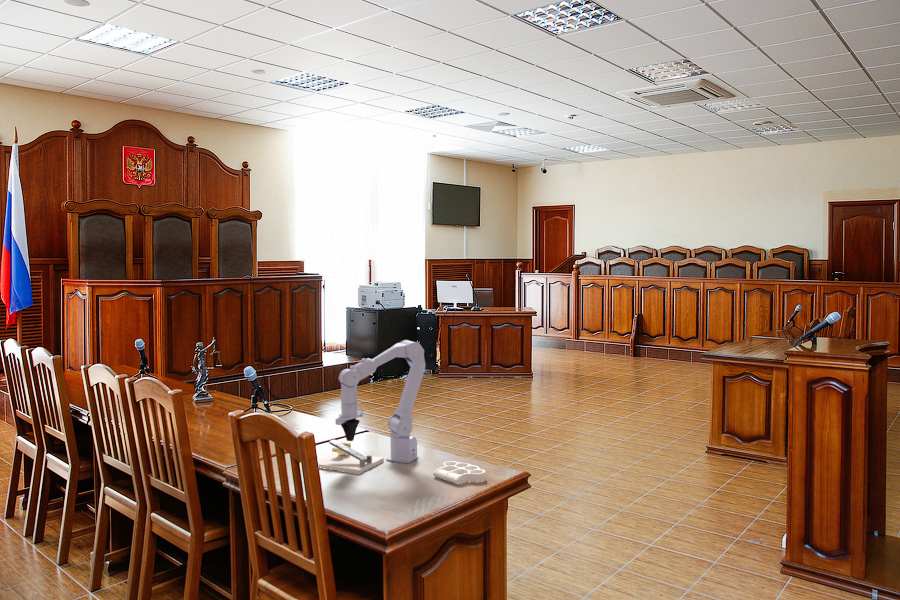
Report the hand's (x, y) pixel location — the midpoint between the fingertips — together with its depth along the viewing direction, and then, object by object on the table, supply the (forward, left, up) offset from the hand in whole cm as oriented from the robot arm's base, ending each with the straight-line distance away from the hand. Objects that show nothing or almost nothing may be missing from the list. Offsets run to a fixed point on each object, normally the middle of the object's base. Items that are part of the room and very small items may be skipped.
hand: (350, 440), depth 235 cm
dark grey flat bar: (+1, 0, -5) cm, 5 cm away
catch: (+8, -5, -8) cm, 12 cm away
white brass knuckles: (-41, -5, -10) cm, 43 cm away
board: (+2, -2, -9) cm, 10 cm away
